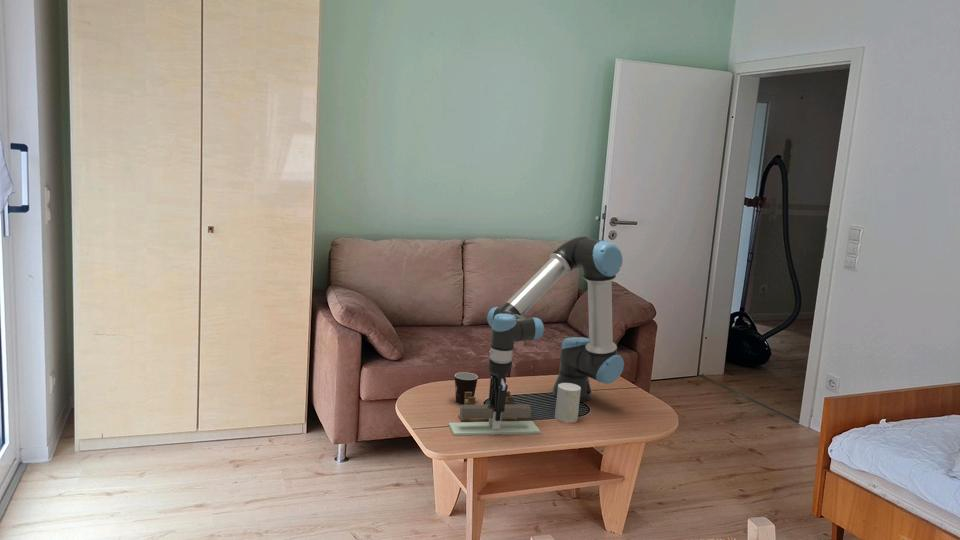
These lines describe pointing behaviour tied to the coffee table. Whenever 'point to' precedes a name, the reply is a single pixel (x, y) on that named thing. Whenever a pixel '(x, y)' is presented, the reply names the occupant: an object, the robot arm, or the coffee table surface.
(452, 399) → the coffee table surface
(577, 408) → the light grey cylinder plug
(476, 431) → the mat
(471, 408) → the rail
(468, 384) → the coffee mug
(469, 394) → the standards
